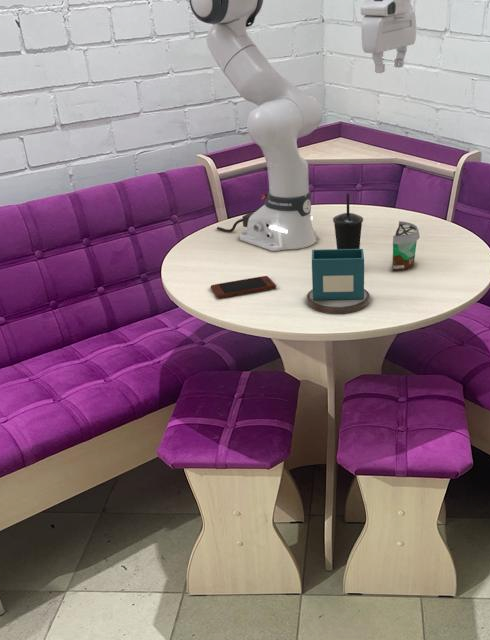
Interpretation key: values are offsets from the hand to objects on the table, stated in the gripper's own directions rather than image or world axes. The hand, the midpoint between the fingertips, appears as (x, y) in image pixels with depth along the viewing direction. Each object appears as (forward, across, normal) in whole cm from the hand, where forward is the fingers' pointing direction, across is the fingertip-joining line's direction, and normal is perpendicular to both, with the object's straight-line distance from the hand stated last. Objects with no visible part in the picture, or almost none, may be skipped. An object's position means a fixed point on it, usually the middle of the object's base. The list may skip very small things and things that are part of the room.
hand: (389, 69), depth 176 cm
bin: (+46, +28, +2) cm, 54 cm away
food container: (+48, 0, +6) cm, 48 cm away
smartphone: (+48, +34, -22) cm, 62 cm away
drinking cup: (+48, +10, -6) cm, 49 cm away
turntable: (+48, +28, +2) cm, 55 cm away
